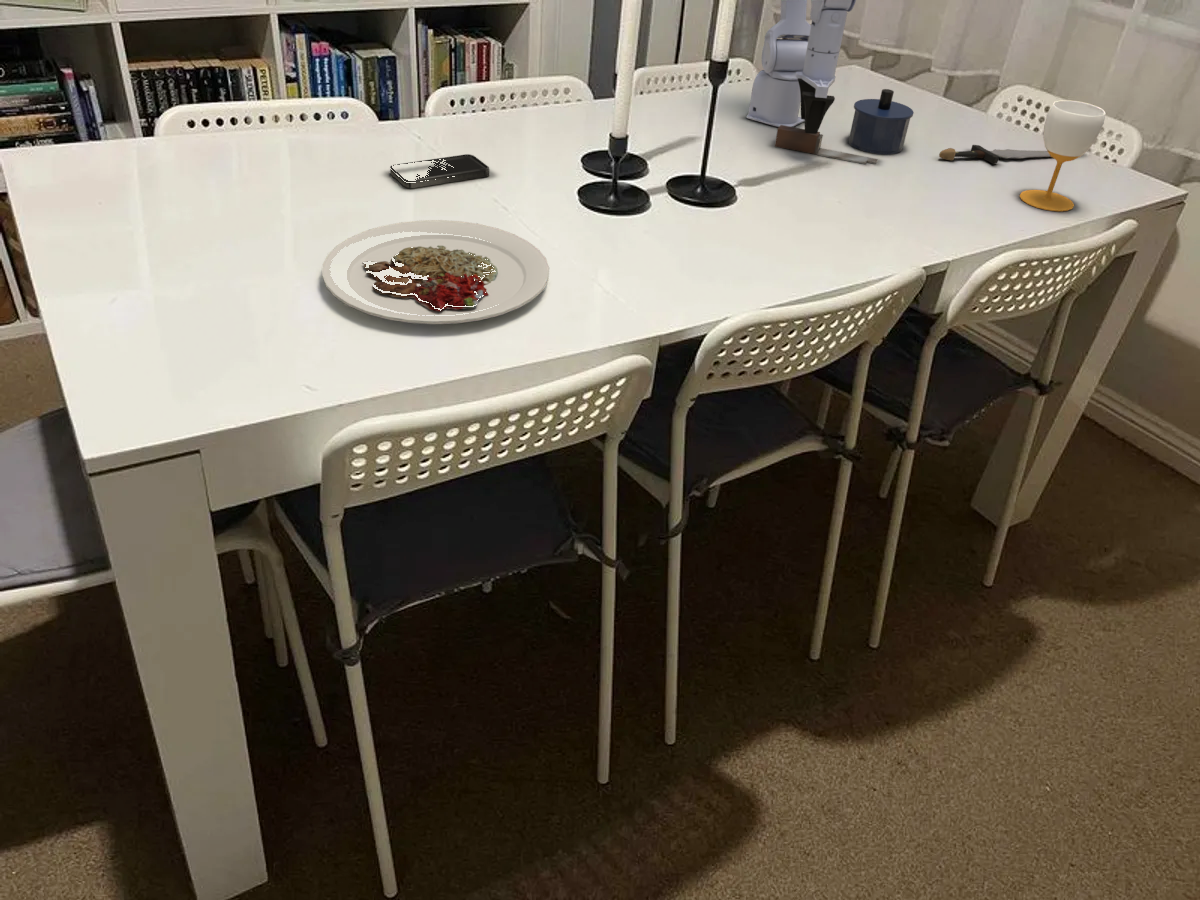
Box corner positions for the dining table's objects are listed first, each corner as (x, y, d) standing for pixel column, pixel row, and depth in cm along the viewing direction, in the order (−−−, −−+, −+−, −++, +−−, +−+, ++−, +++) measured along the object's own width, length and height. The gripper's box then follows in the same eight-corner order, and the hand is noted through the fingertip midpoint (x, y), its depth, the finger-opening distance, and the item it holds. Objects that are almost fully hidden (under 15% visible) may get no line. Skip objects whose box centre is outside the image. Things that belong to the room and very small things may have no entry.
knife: (774, 147, 185) (777, 128, 183) (777, 142, 187) (781, 124, 185) (874, 166, 180) (879, 147, 178) (877, 161, 182) (881, 142, 180)
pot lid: (843, 113, 185) (848, 89, 182) (867, 100, 192) (872, 78, 190) (898, 127, 180) (903, 104, 177) (921, 114, 187) (927, 91, 185)
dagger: (927, 150, 189) (929, 139, 188) (1080, 153, 193) (1084, 142, 192) (943, 165, 183) (946, 154, 182) (1101, 167, 188) (1105, 156, 186)
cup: (1019, 187, 176) (1049, 96, 166) (1072, 197, 174) (1106, 105, 164) (1019, 205, 169) (1050, 111, 159) (1074, 215, 167) (1110, 120, 157)
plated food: (442, 214, 150) (441, 193, 148) (593, 281, 136) (595, 258, 134) (276, 276, 131) (272, 253, 129) (432, 361, 116) (431, 336, 114)
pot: (839, 144, 188) (846, 110, 185) (862, 131, 195) (869, 98, 191) (889, 158, 184) (897, 123, 180) (910, 145, 191) (919, 111, 187)
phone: (491, 169, 163) (406, 182, 156) (491, 175, 164) (407, 189, 157) (470, 153, 168) (387, 165, 162) (470, 159, 169) (388, 171, 162)
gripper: (796, 36, 180) (783, 111, 188) (804, 58, 168) (790, 137, 176) (835, 40, 180) (820, 114, 188) (846, 61, 168) (829, 140, 176)
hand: (808, 126), depth 182 cm, fingers open, 7 cm apart
